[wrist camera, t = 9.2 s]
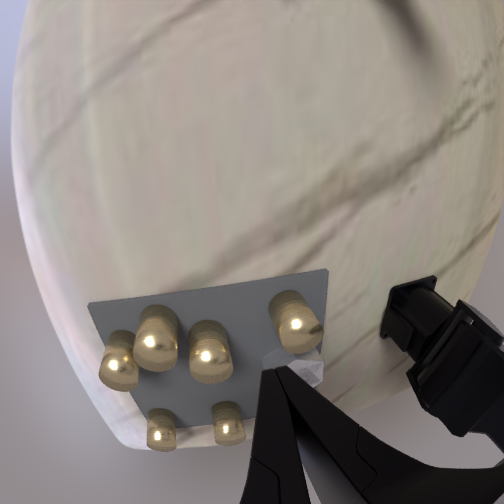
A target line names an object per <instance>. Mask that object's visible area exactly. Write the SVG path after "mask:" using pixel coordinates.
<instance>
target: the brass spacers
mask: <svg viewBox="0 0 504 504" xmlns="http://www.w3.org/2000/svg"><path fill="white" fill-rule="evenodd" d="M268 312H269V315H270V317H271V320H272V322H273V324H274V327H275V329H276V331H277V334H278V336H279V338H280V341H281V343H282V345H283V348H284V349H285V350H286V351H287V352H289V353H292V354H301V353H305V352H308V351H310V350H311V349H313V348H314V347H316V346H317V345H318V344H319V342H320V341H321V339H322V337H323V334H324V331H323V327H322V325H321V324H320V322H319V321H318V319H317V318H316V316H315V315H314V313H313V311H312V310H311V308H310V307H309V305H308V304H307V302H306V301H305V299H304V298H303V296H302V295H301V294H300V293H299V292H298V291H295V290H285V291H282V292H280V293H278V294H276V295H275V296H274V297H273V298H272V299H271V301H270V303H269V305H268ZM177 342H178V318H177V316H176V314H175V312H174V311H173V310H171V309H170V308H169V307H167V306H164V305H159V304H155V305H150V306H147V307H146V308H144V309H143V310H142V312H141V314H140V318H139V323H138V328H137V333H136V335H135V334H134V333H132V332H130V331H127V330H116V331H114V332H112V333H111V334H110V335H109V338H108V341H107V345H106V348H105V352H104V355H103V359H102V362H101V366H100V370H99V378H100V380H101V381H102V382H103V383H104V384H105V385H106V386H107V387H109V388H111V389H113V390H116V391H122V392H127V391H131V390H133V389H135V388H136V387H137V385H138V377H139V369H140V366H141V367H142V368H144V369H146V370H149V371H154V372H162V371H167V370H169V369H171V368H173V367H174V366H175V364H176V363H177ZM189 359H190V373H191V375H192V377H193V378H194V379H195V380H197V381H199V382H201V383H206V384H216V383H220V382H223V381H225V380H226V379H228V378H229V377H230V376H231V375H232V373H233V364H232V359H231V355H230V350H229V345H228V340H227V335H226V330H225V328H224V326H223V325H222V324H221V323H219V322H217V321H215V320H201V321H198V322H196V323H195V324H193V325H192V326H191V328H190V330H189ZM211 414H212V421H213V428H214V435H215V441H216V443H218V444H220V445H226V446H230V445H236V444H239V443H241V442H243V441H244V440H245V439H246V435H245V431H244V426H243V422H242V418H241V413H240V409H239V405H238V404H237V403H235V402H233V401H221V402H218V403H216V404H214V405H213V406H212V407H211ZM147 446H148V447H149V448H151V449H153V450H156V451H162V452H168V451H172V450H175V449H176V427H175V414H174V413H173V412H172V411H170V410H168V409H164V408H154V409H151V410H150V411H149V412H148V419H147Z"/></svg>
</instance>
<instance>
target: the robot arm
mask: <svg viewBox="0 0 504 504" xmlns="http://www.w3.org/2000/svg"><path fill="white" fill-rule="evenodd" d="M436 281H437V278H436V277H435V276H434V275H432V276H429V277H426V278H422V279H419V280H415V281H412V282H408V283H405V284H401V285H397V286H394V287H393V288H392V289H391V292H390V297H389V301H388V306H387V310H386V314H385V318H384V322H383V326H382V330H381V333H380V336H381V338H382V339H386V338H389V337H391V338H392V339H393V341H394V342H395V343H396V344H397V345H398V347H399V348H400V349H401V350H402V351H403V352H407V353H408V354H409V355H410V356H411V358H412V359H413V360H414V361H415V362H416V363H415V364H414V365H413V366H412V368H411V369H409V370H408V371H407V372H406V375H407V377H408V379H409V382H410V384H411V386H412V388H413V390H414V392H415V394H416V396H417V398H418V401H419V403H420V405H421V407H422V408H423V409H424V410H425V411H426V412H428V413H429V414H431V415H433V416H435V417H438V418H439V419H440V420H441V421H442V422H443V424H444V425H445V426H446V427H447V429H448V430H449V431H450V432H451V434H453V435H455V436H458V437H464V436H465V435H466V434H467V433H468V432H472V433H481V434H486V435H487V436H488V437H489V438H490V439H491V440H492V441H493V442H494V443H495V444H496V445H497V447H498V448H499V449H500V450H501V451H502V452H503V453H504V345H503V342H504V335H503V334H502V333H501V332H500V331H499V330H498V329H497V328H496V326H495V325H494V324H493V323H492V322H491V321H490V320H489V319H488V318H487V317H485V316H484V315H483V314H482V313H480V312H479V311H478V310H477V309H475V308H474V307H472V306H471V305H469V304H467V303H466V302H464V301H462V300H460V299H459V300H458V301H457V303H456V304H457V305H456V306H455V307H453V306H452V305H451V304H450V303H449V302H447V301H446V300H445V299H444V298H443V297H441V296H440V295H439V294H438V293H436V292H435V291H434V289H435V285H436ZM472 320H474V321H473V322H472ZM471 322H472V324H470V323H471ZM301 461H302V462H301ZM302 464H303V466H304V468H305V470H306V472H307V474H308V477H309V478H310V481H311V483H312V485H313V487H314V489H315V491H316V493H317V495H318V497H319V500H320V502H321V504H504V459H503V460H501V461H500V462H499V463H498V464H496V465H495V466H494V467H493V468H484V469H483V468H482V469H455V468H454V469H453V468H452V469H451V468H438V467H433V466H430V465H427V464H424V463H422V462H420V461H418V460H416V459H414V458H411V457H410V456H408V455H406V454H404V453H402V452H400V451H398V450H396V449H395V448H393V447H391V446H389V445H388V444H386V443H384V442H383V441H381V440H379V439H378V438H376V437H375V436H374V435H372V434H371V433H369V432H368V431H367V430H366V429H364V428H363V427H362V426H360V427H359V424H358V423H356V422H355V421H354V420H352V419H351V418H350V417H348V416H347V415H346V414H345V413H344V412H342V411H341V410H340V409H339V408H337V407H336V406H335V405H334V404H332V403H331V402H330V401H329V400H327V399H326V398H325V397H324V396H323V395H321V394H320V393H319V392H318V391H317V390H315V389H314V388H313V387H312V386H311V385H309V384H308V383H307V382H306V381H305V380H303V379H302V378H301V377H300V376H299V375H298V374H296V373H295V372H294V371H293V370H292V369H291V368H290V367H288V366H286V365H284V366H279V367H276V368H275V369H274V368H270V369H265V370H262V372H261V379H260V388H259V396H258V404H257V411H256V419H255V427H254V434H253V442H252V449H251V458H250V463H249V469H248V475H247V480H246V484H245V487H244V491H243V495H242V498H241V501H240V504H311V502H310V498H309V494H308V489H307V485H306V480H305V476H304V471H303V466H302Z"/></svg>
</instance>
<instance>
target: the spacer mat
mask: <svg viewBox="0 0 504 504" xmlns="http://www.w3.org/2000/svg"><path fill="white" fill-rule="evenodd" d="M328 274H329V271H328V270H327V269H321V270H315V271H309V272H303V273H298V274H292V275H286V276H280V277H274V278H268V279H261V280H255V281H249V282H242V283H236V284H229V285H223V286H216V287H209V288H202V289H196V290H188V291H181V292H174V293H167V294H159V295H151V296H144V297H136V298H128V299H119V300H111V301H102V302H93V303H89V304H88V306H87V307H88V310H89V312H90V314H91V317H92V319H93V321H94V324H95V326H96V328H97V330H98V333H99V335H100V337H101V339H102V341H103V343H104V345H105V347H106V345H107V341H108V338H109V335H110V334H111V333H112V332H114V331H116V330H127V331H130V332H132V333H134V334H135V335H136V333H137V328H138V323H139V318H140V314H141V312H142V310H143V309H144V308H146V307H147V306H150V305H155V304H159V305H164V306H167V307H169V308H170V309H171V310H173V311H174V312H175V314H176V316H177V318H178V342H177V363H176V364H175V366H174V367H173V368H171V369H169V370H167V371H162V372H154V371H149V370H146V369H144V368H142V367H141V366H140V369H139V377H138V385H137V387H136V388H135V389H133V390H131V391H129V392H130V394H131V396H132V397H133V399H134V401H135V402H136V404H137V406H138V407H139V409H140V410H141V412H142V413H143V415H144V417H145V418H146V420H147V419H148V412H149V411H150V410H151V409H154V408H164V409H168V410H170V411H172V412H173V413H174V414H175V427H176V428H181V427H192V426H202V425H210V424H213V421H212V414H211V407H212V406H213V405H214V404H216V403H218V402H221V401H233V402H235V403H237V404H238V405H239V409H240V413H241V418H242V420H243V419H249V418H254V417H256V411H257V404H258V396H259V388H260V379H261V372H262V370H263V365H262V358H263V357H265V356H266V355H268V354H269V353H271V352H272V351H274V350H275V349H276V348H278V347H279V346H281V345H282V343H281V341H280V338H279V336H278V334H277V331H276V329H275V327H274V324H273V322H272V320H271V317H270V315H269V312H268V305H269V303H270V301H271V299H272V298H273V297H274V296H275V295H276V294H278V293H280V292H282V291H285V290H295V291H298V292H299V293H300V294H301V295H302V296H303V298H304V299H305V301H306V302H307V304H308V305H309V307H310V308H311V310H312V311H313V313H314V315H315V316H316V318H317V319H318V321H319V322H320V324H321V325H322V327H323V328H324V319H325V309H326V299H327V287H328ZM201 320H215V321H217V322H219V323H221V324H222V325H223V326H224V328H225V330H226V335H227V340H228V345H229V350H230V355H231V359H232V364H233V373H232V375H231V376H230V377H229V378H228V379H226V380H225V381H223V382H220V383H216V384H206V383H201V382H199V381H197V380H195V379H194V378H193V377H192V375H191V373H190V359H189V330H190V328H191V326H192V325H193V324H195V323H196V322H198V321H201ZM321 345H322V339H321V341H320V342H319V344H318V345H317V346H316V349H317V351H318V352H319V354H320V353H321ZM315 387H316V386H315ZM315 387H313V388H314V389H315Z"/></svg>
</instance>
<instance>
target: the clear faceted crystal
mask: <svg viewBox="0 0 504 504" xmlns="http://www.w3.org/2000/svg"><path fill="white" fill-rule="evenodd" d="M262 365H263V370H265V369H270V368H274V369H275V368H276V367H279V366H284V365H286V366H288V367H290V368H291V369H292V370H293V371H294V372H295V373H296V374H298V375H299V376H300V377H301V378H302V379H303V380H305V381H306V382H307V383H308V384H309V385H311V386H312V387H315V386H316V385H318V384H319V383H321V382H322V381H323V368H324V361H323V360H322V358H321V356H320V354H319V352H318V351H317V349H316V347H314V348H313V349H311V350H310V351H308V352H305V353H301V354H292V353H289V352H287V351H286V350H285V349H284V348H283V345H281V346H279V347H278V348H276V349H275V350H274V351H272V352H271V353H269V354H268V355H266V356H265V357H263V358H262Z"/></svg>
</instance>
